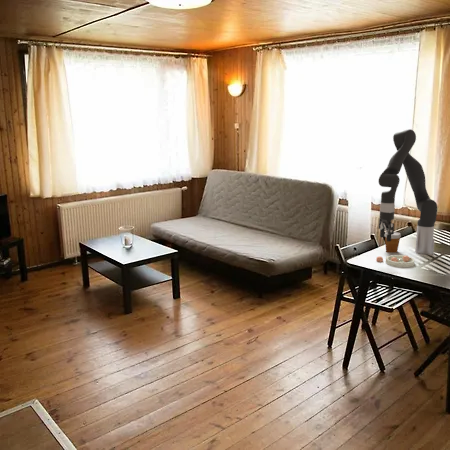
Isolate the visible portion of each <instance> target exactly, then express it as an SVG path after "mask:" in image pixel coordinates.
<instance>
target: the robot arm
mask: <svg viewBox="0 0 450 450" xmlns="http://www.w3.org/2000/svg"><path fill="white" fill-rule="evenodd" d="M392 138H393V139H392V141H393V144H394V146H395V149H396V152H395V153H394V154H393V155H392V156H391V157H390V159H389V162H388V164H387V167H386V168H385V169H384V170H383V171H382V172H381V174H380V175H379V178H378V184H379V186H380V187H383V188H390V190H386V191H385V190H384V191H382V192H381V196H380V197H381V198H380V206H379V220H378V230H379V231H380V234H379V237H380V238H385V236H384V234H385V233H386V232H387V241H391V235H392V234H394V232H395V223H394V222H393V223H392V221H393V220H394V219H395V209H396V207H395V206H396V205H395V199H396V193H397V190H398V187H399V184H400V176H399V175H398V174H399V173H400V172H401V169H402V166H403V168H404V171H405V174H406V176H407V180H408V182H409V185H410V187H411V190H412V192H413V195H414V199H415V200H414V201H415V204H416V209H417V210H418V211H419V213H420V215H419V216H420V217H419V219H418V220H417V225H416V226H417V227H416V239H415V251H414V252H415V253H417V254H421V255H432V256H433V255H434V248H435V238H434V232H435V224H436V221H437V215H438V204H437V202H436V201H435V200H433V199H431V197H430V195H429V193H428V190H427V187H426V174H425V171H424V168H423V165H422V164H421V163H420V162H419V160H417V159H416V158H415V157H414V156H413V155H412V154H410V152H411V150H412V148H413V146H414V145H415V143H416V140H417V136H416V132H415V131H414V129H412V128H411V129H403V130H401V131H398V132H395V133H394V134H393V136H392Z"/></svg>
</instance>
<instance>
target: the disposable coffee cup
mask: <svg viewBox="0 0 450 450" xmlns="http://www.w3.org/2000/svg"><path fill="white" fill-rule="evenodd" d="M401 237H402V235H401V233H400V232H398V231H394V234H392V235H391V241H387V232H386V231H385V234H384V243H385V252H386V253H391V254H392V253H393V254H395V253H398V249H399V244H400V240H401Z"/></svg>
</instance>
